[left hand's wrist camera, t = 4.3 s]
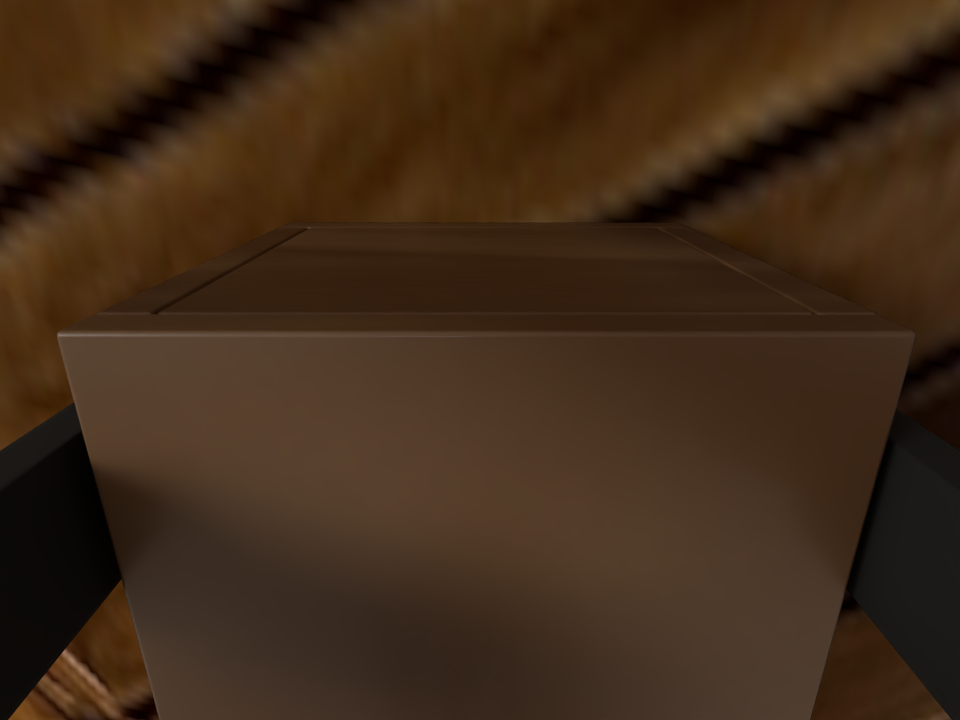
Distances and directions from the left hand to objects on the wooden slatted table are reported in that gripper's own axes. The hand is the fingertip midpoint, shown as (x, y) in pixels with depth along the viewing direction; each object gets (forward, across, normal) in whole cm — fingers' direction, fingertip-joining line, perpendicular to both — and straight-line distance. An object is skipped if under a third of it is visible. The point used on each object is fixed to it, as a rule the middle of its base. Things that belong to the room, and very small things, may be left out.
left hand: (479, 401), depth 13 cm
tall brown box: (+5, 0, -6) cm, 8 cm away
